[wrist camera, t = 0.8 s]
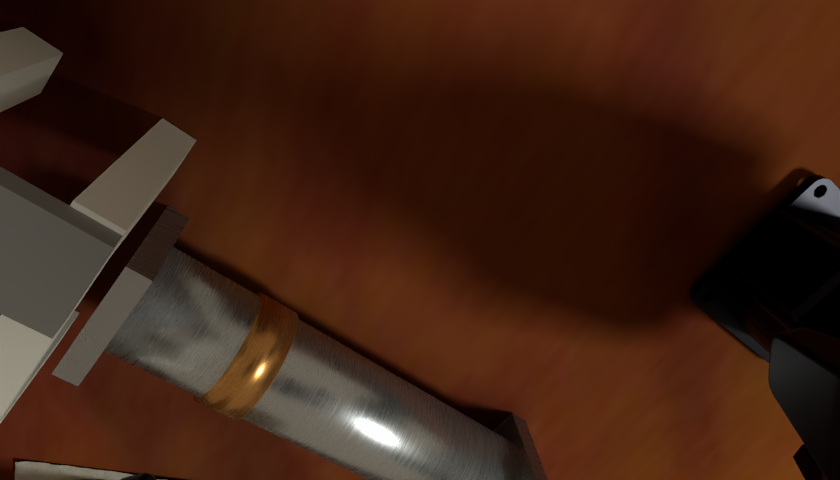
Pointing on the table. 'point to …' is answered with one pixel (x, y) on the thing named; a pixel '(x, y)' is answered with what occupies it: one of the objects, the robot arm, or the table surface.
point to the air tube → (285, 373)
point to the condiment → (62, 472)
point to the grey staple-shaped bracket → (62, 224)
